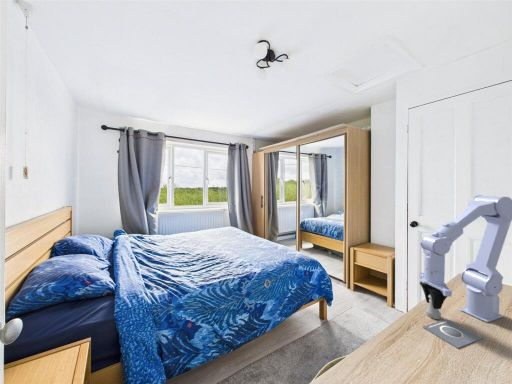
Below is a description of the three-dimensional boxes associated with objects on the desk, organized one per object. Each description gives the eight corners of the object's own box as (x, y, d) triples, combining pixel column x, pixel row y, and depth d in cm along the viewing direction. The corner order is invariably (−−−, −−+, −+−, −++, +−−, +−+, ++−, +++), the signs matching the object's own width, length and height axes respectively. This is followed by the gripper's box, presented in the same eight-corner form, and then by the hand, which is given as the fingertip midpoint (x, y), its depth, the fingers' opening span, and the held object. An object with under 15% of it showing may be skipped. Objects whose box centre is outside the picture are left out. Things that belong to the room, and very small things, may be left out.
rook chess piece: (444, 320, 77) (444, 298, 77) (429, 319, 78) (430, 297, 78) (436, 313, 82) (436, 292, 81) (423, 311, 83) (423, 291, 82)
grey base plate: (446, 319, 78) (446, 318, 78) (482, 338, 68) (482, 337, 68) (422, 327, 74) (422, 326, 74) (457, 348, 65) (457, 347, 64)
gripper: (411, 261, 87) (410, 294, 88) (435, 277, 73) (434, 316, 73) (430, 262, 86) (429, 295, 87) (459, 278, 72) (458, 318, 72)
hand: (433, 305), depth 80 cm, fingers closed on rook chess piece, 3 cm apart
